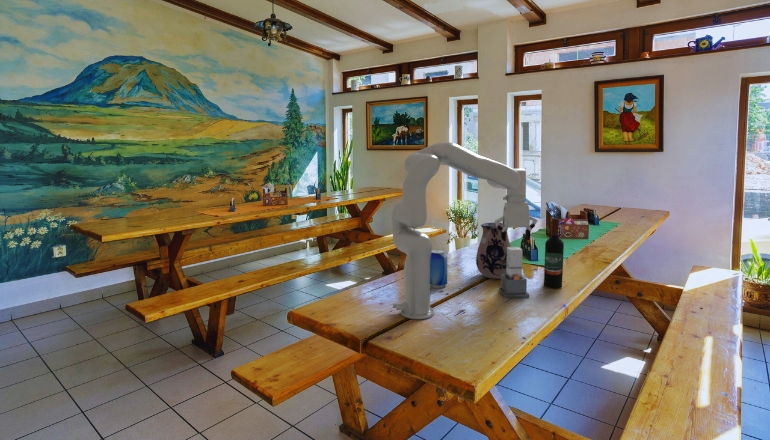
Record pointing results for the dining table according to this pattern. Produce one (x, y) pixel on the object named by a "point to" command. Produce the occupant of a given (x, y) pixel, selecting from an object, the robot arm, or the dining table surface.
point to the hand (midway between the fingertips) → (515, 240)
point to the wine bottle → (554, 258)
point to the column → (514, 262)
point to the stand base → (513, 287)
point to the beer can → (438, 268)
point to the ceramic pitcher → (492, 252)
